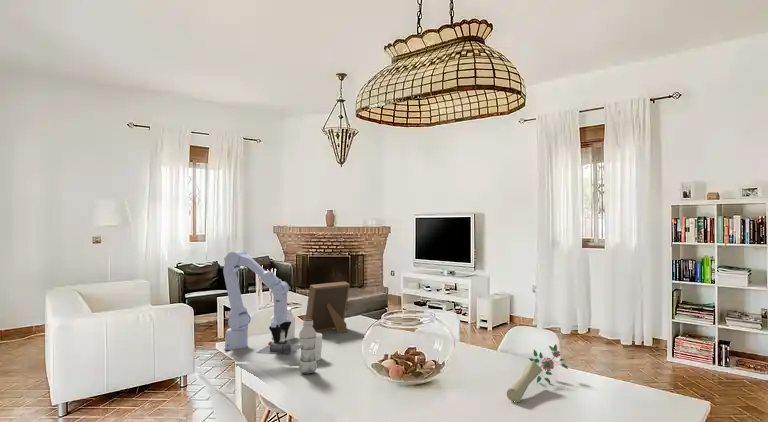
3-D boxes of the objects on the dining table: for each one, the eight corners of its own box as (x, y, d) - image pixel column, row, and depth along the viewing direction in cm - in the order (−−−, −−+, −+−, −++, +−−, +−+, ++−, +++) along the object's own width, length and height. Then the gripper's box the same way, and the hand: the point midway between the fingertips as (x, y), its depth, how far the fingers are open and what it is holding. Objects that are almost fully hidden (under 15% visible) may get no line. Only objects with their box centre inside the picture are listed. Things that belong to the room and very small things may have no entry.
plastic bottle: (313, 376, 182) (313, 322, 182) (296, 374, 183) (296, 322, 184) (319, 370, 188) (319, 319, 188) (302, 369, 190) (302, 318, 190)
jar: (267, 339, 235) (267, 308, 236) (280, 335, 244) (281, 305, 244) (284, 342, 229) (285, 311, 230) (298, 338, 238) (298, 307, 238)
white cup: (320, 361, 200) (320, 337, 201) (301, 361, 201) (301, 337, 201) (323, 355, 208) (323, 332, 208) (305, 355, 208) (305, 332, 209)
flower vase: (507, 421, 160) (542, 371, 187) (541, 420, 152) (572, 368, 180) (493, 387, 160) (530, 342, 187) (527, 384, 152) (560, 338, 180)
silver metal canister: (274, 350, 214) (274, 331, 214) (278, 347, 218) (278, 329, 218) (282, 350, 213) (282, 332, 213) (286, 348, 217) (286, 330, 217)
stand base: (255, 355, 209) (255, 344, 209) (271, 345, 225) (271, 335, 225) (289, 357, 206) (289, 346, 206) (304, 347, 221) (304, 337, 221)
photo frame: (303, 331, 251) (304, 283, 251) (338, 325, 265) (339, 280, 265) (319, 337, 240) (319, 287, 240) (354, 331, 253) (355, 283, 253)
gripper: (281, 313, 208) (281, 344, 207) (295, 306, 222) (295, 336, 222) (266, 312, 209) (266, 343, 209) (281, 306, 223) (281, 335, 223)
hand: (280, 340), depth 215 cm, fingers open, 7 cm apart
